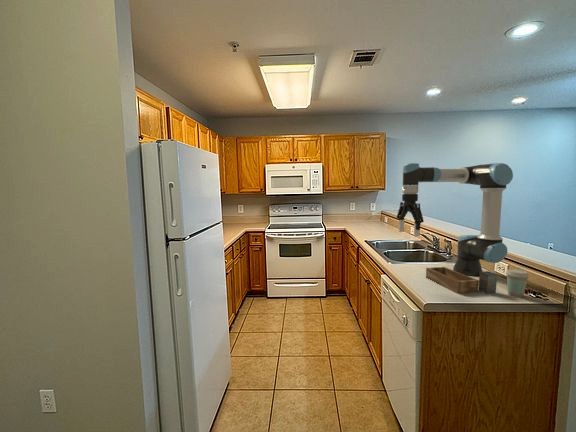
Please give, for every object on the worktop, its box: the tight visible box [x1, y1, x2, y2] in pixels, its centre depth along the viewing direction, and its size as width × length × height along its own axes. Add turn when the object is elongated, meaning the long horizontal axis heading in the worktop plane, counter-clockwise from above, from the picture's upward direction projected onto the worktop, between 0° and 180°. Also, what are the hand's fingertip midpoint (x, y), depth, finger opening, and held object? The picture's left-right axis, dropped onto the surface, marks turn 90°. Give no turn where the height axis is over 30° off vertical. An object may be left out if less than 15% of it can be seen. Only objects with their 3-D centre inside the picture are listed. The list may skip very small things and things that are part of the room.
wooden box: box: [425, 266, 479, 295], centre depth 151 cm, size 11×24×6 cm, turn 10°
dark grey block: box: [478, 270, 498, 295], centre depth 140 cm, size 5×5×10 cm
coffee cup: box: [505, 268, 530, 298], centre depth 135 cm, size 8×9×12 cm
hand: (408, 233), depth 148 cm, fingers open, 13 cm apart
